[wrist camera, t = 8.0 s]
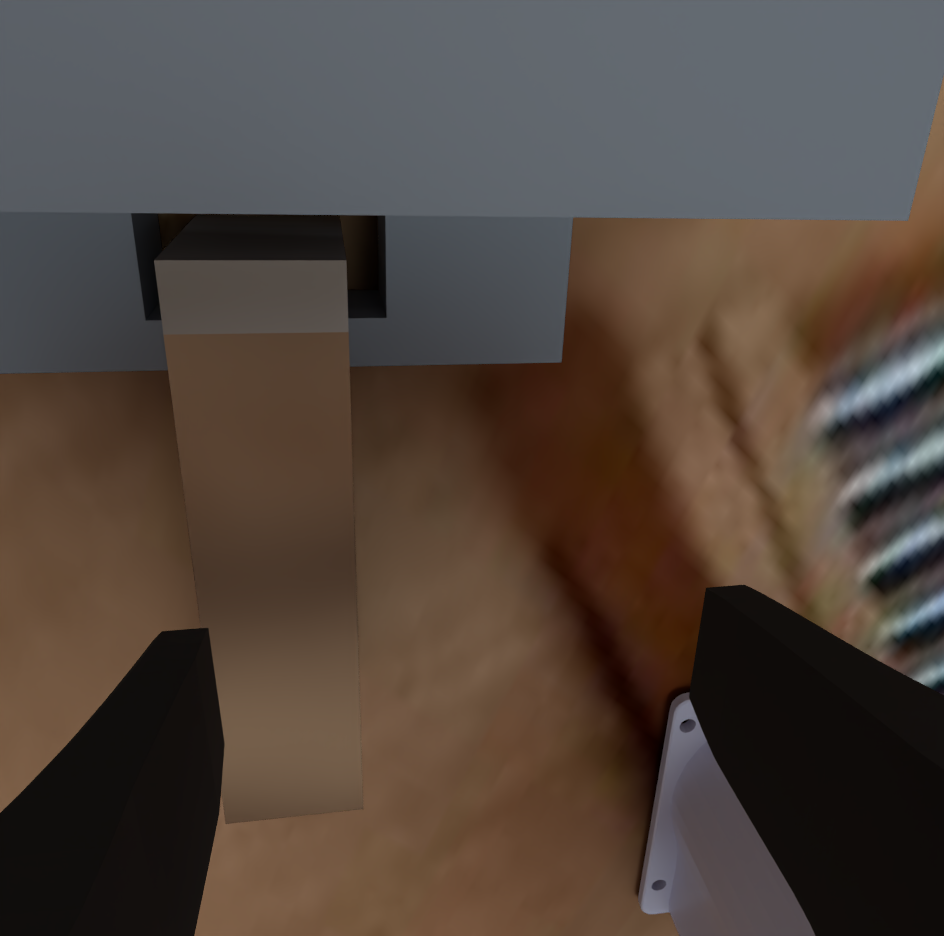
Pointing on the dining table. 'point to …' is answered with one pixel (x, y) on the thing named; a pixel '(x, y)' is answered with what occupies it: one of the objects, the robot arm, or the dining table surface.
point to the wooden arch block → (270, 499)
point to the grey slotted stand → (429, 147)
